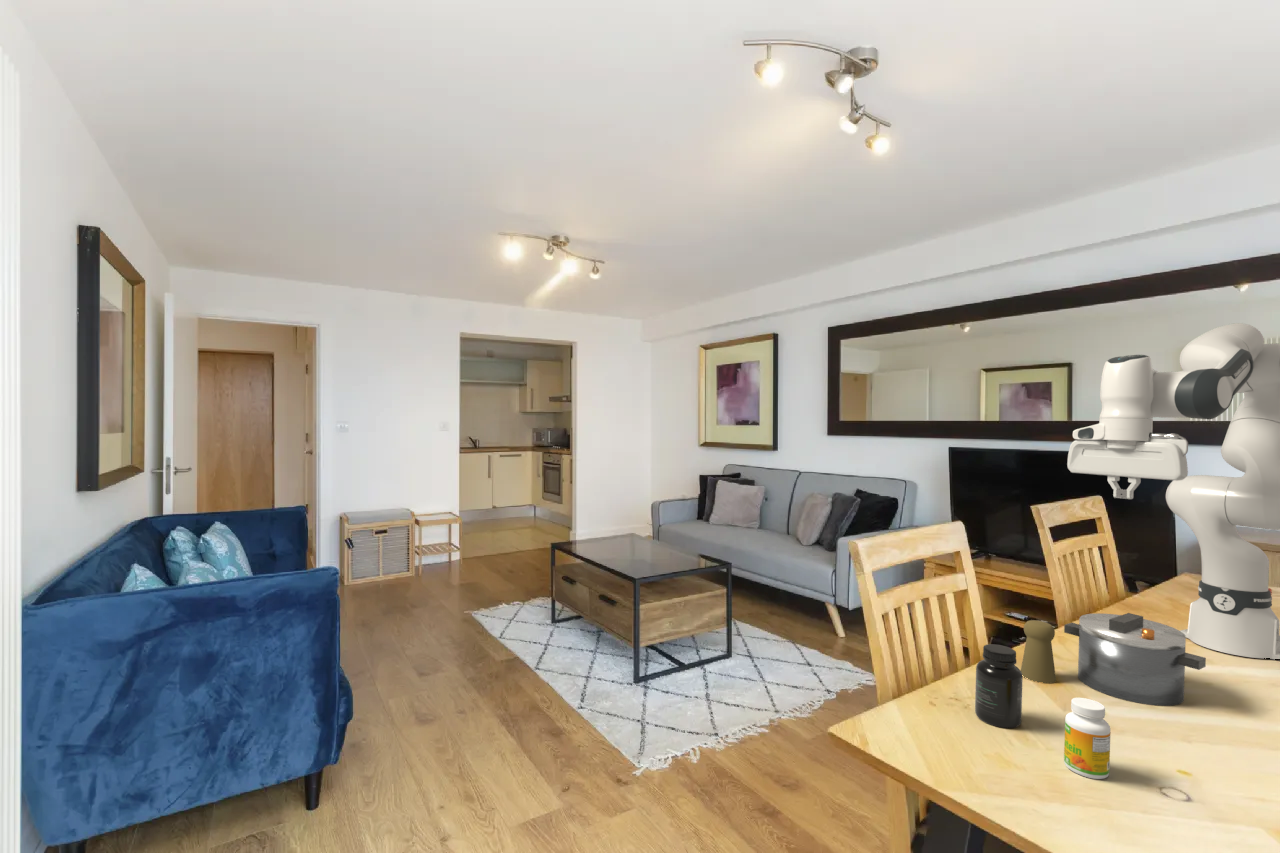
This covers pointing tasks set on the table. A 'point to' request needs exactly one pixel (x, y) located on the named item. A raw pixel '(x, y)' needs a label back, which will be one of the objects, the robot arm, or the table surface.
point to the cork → (1038, 652)
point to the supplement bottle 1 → (998, 687)
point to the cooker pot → (1133, 669)
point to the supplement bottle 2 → (1087, 739)
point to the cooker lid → (1132, 631)
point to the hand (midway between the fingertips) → (1123, 498)
